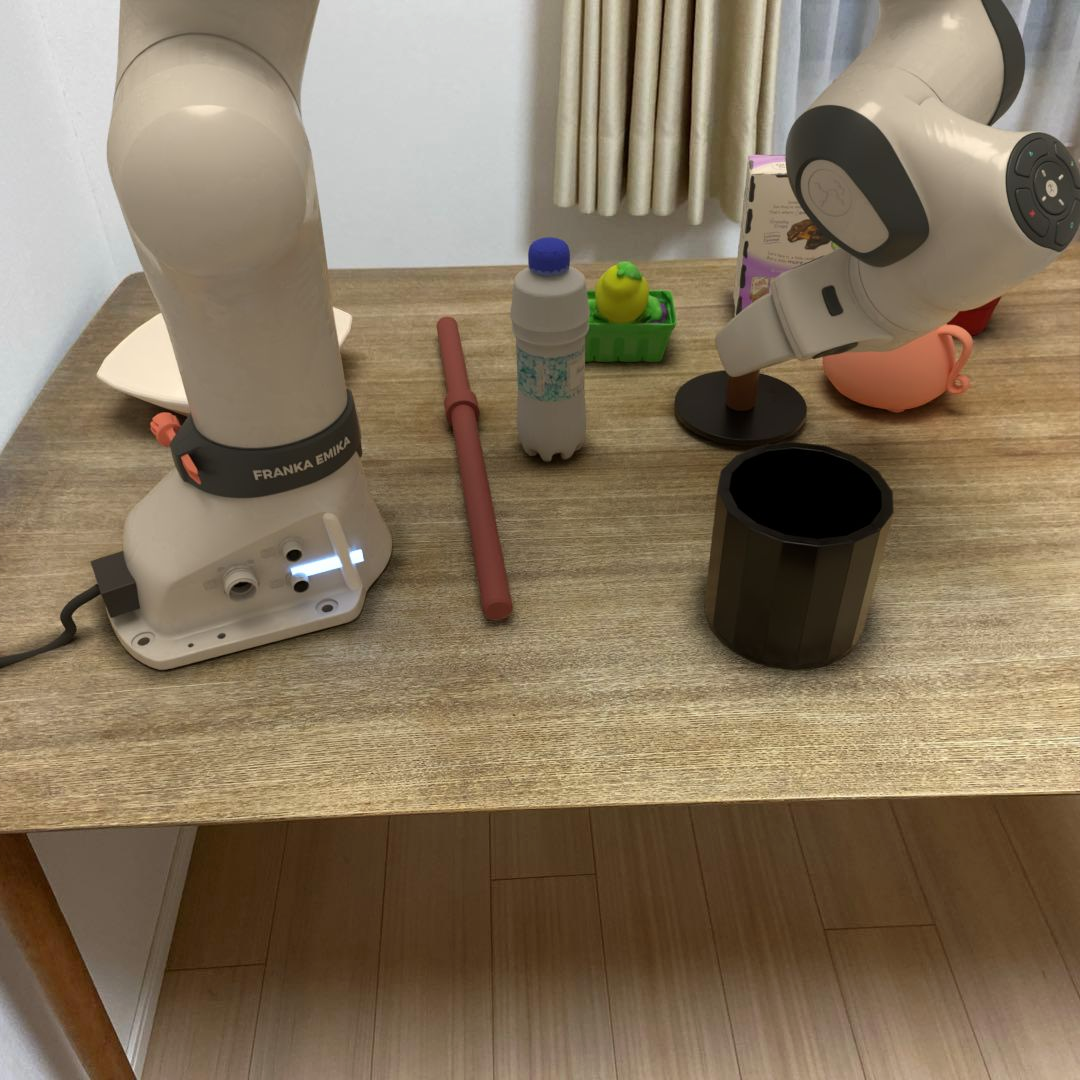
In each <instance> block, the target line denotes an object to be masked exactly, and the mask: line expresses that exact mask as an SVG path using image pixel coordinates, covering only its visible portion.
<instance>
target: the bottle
mask: <svg viewBox="0 0 1080 1080" xmlns="http://www.w3.org/2000/svg"><path fill="white" fill-rule="evenodd" d="M527 263H528V264H527V265H528V266H527V267H526V268H524V269H521V270H520V271H519V272H518V273H517V274H516V275H515V277H514V279H513V282H512V283H513V284H512V285H513V286H512V296H511V305H510V311H509V317H510V320H511V322H512V323H511V326H510V328H511V329H510V330H511V332H512V334H513V335H514V337H515V351H516V352H515V353H516V378H517V379H516V380H517V405H516V406H517V408H516V430H517V435H518V438H519V441H520V443H521V446H522V448H523V451H524V452H525V453H526V455H528V456H530V457H535V456H537V454H539V456H540V458H541V459H542V461H543V462H551V461H552V459H553V455H555V454H560V458H561V459H562V460H568V459H571V457H572V456H573V454H574V452H575V451H579V450H580V449H581V448H582V447H583V445H584V444H585V440H586V435H587V406H586V395H585V393H586V392H585V383H586V382H585V381H586V379H585V378H586V377H585V375H586V369H585V368H586V367H585V366H586V362H585V336H586V334H587V332H588V330H589V323H588V320H589V316H590V309H589V304H588V297H587V290H588V289H587V282H586V277H585V275H584V274H583V273H582V272H581V271H580V270H578V269H577V268H575V267H573V266H570V265H571V264H570V263H571V251H570V247H569V245H568V244H567V242H566V241H564V240H563V239H561V238H557V237H552V236H547V237H540V238H539V239H538V238H537V239H536V240H534V241H533V242H532V243H531V244H530V245H529V247H528V251H527Z"/></svg>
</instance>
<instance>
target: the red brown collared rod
mask: <svg viewBox="0 0 1080 1080" xmlns="http://www.w3.org/2000/svg"><path fill="white" fill-rule="evenodd" d="M436 332H437V339H438V344H439V351H440V352H439V353H440V358H441V363H442V369H443V376H444V381H445V388H446V393H447V394H446V395H445V397H444V401H443V405H444V412H445V417H446V421H447V423H448V424H449V425H450V426H451V427H452V430H453V437H454V443H455V450H456V455H457V463H458V468H459V475H460V480H461V486H462V493H463V498H464V499H463V500H464V505H465V511H466V517H467V523H468V530H469V535H470V542H471V547H472V554H473V561H474V566H475V572H476V578H477V586H478V590H479V598H480V603H481V611H482V614H483V615H484V616H485V618H487V619H488V620H492V621H499V620H503V619H506V618H508V617H509V616H510V615H511V613H512V612H513V609H514V606H513V601H512V597H511V590H510V586H509V585H510V584H509V580H508V575H507V570H506V565H505V560H504V554H503V549H502V543H501V539H500V534H499V529H498V524H497V519H496V513H495V510H494V509H495V508H494V504H493V499H492V494H491V493H492V492H491V489H490V484H489V483H490V482H489V479H488V473H487V469H486V463H485V458H484V453H483V448H482V442H481V438H480V433H479V427H478V421H479V419H480V412H481V411H480V409H479V403H478V398H477V395H476V394H475V393H474V392H473V391H472V390H471V386H470V382H469V377H468V371H467V367H466V360H465V356H464V351H463V346H462V341H461V336H460V330H459V325H458V322H457V320H456V319H455V318H454V317H452V316H442V317H440V319H438V321H437V322H436Z"/></svg>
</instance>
